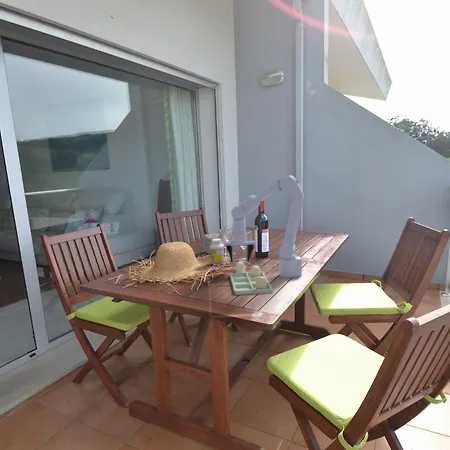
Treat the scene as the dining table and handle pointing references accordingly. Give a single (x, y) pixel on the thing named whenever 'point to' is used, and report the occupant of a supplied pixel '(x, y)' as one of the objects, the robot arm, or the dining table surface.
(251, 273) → the tan egg
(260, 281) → the tan egg
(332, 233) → the dining table surface
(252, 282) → the egg tray
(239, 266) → the cream egg
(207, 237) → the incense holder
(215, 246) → the supplement bottle
